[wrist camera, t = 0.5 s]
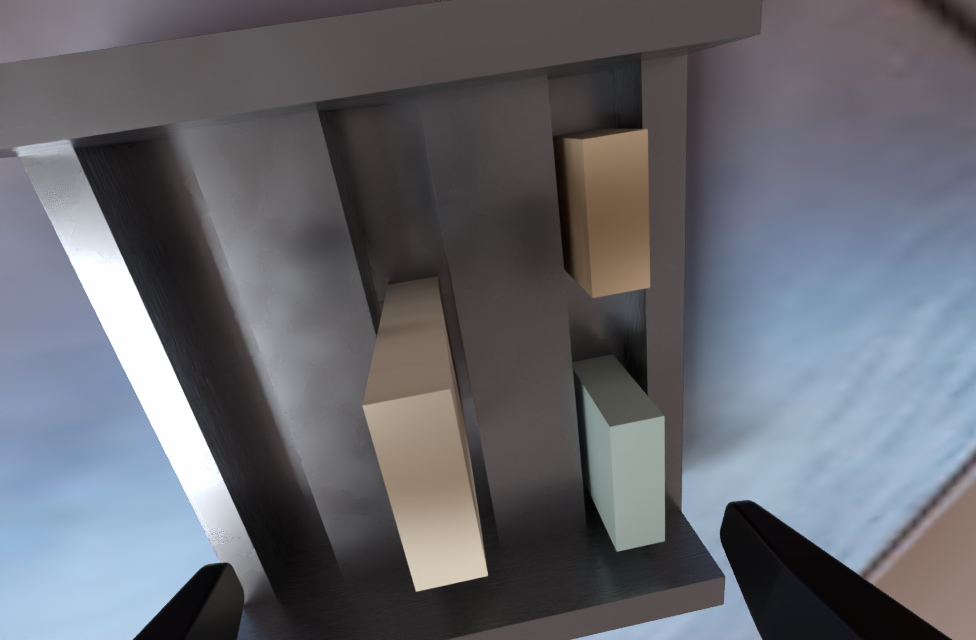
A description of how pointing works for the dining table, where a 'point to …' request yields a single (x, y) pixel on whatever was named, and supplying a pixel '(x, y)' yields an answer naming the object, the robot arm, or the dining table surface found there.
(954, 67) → the dining table surface
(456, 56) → the rack
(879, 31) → the dining table surface
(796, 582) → the robot arm
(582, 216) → the offcut
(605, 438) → the offcut
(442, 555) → the birch panel
